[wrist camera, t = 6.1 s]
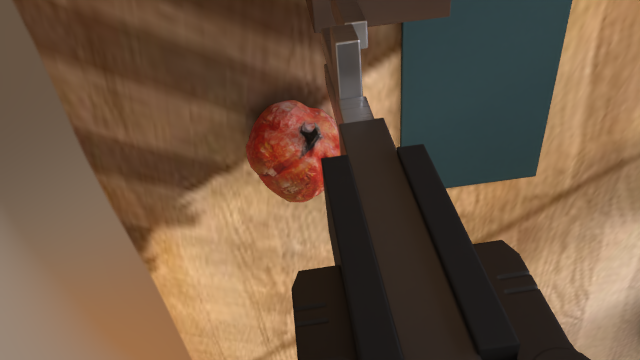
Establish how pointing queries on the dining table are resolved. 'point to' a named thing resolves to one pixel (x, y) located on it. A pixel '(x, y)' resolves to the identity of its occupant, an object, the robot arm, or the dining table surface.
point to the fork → (391, 205)
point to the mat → (482, 86)
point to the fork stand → (381, 11)
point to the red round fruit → (292, 149)
